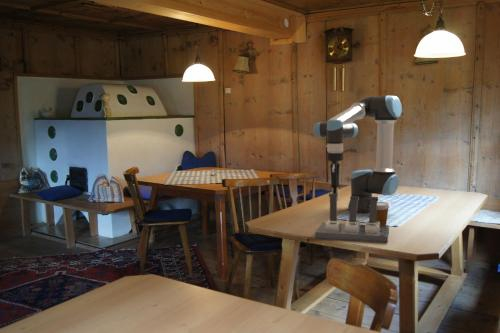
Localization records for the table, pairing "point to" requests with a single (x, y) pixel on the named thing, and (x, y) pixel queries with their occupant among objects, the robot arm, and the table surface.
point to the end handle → (373, 209)
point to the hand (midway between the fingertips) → (335, 200)
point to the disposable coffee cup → (382, 213)
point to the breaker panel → (353, 231)
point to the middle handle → (353, 208)
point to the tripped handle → (333, 206)
